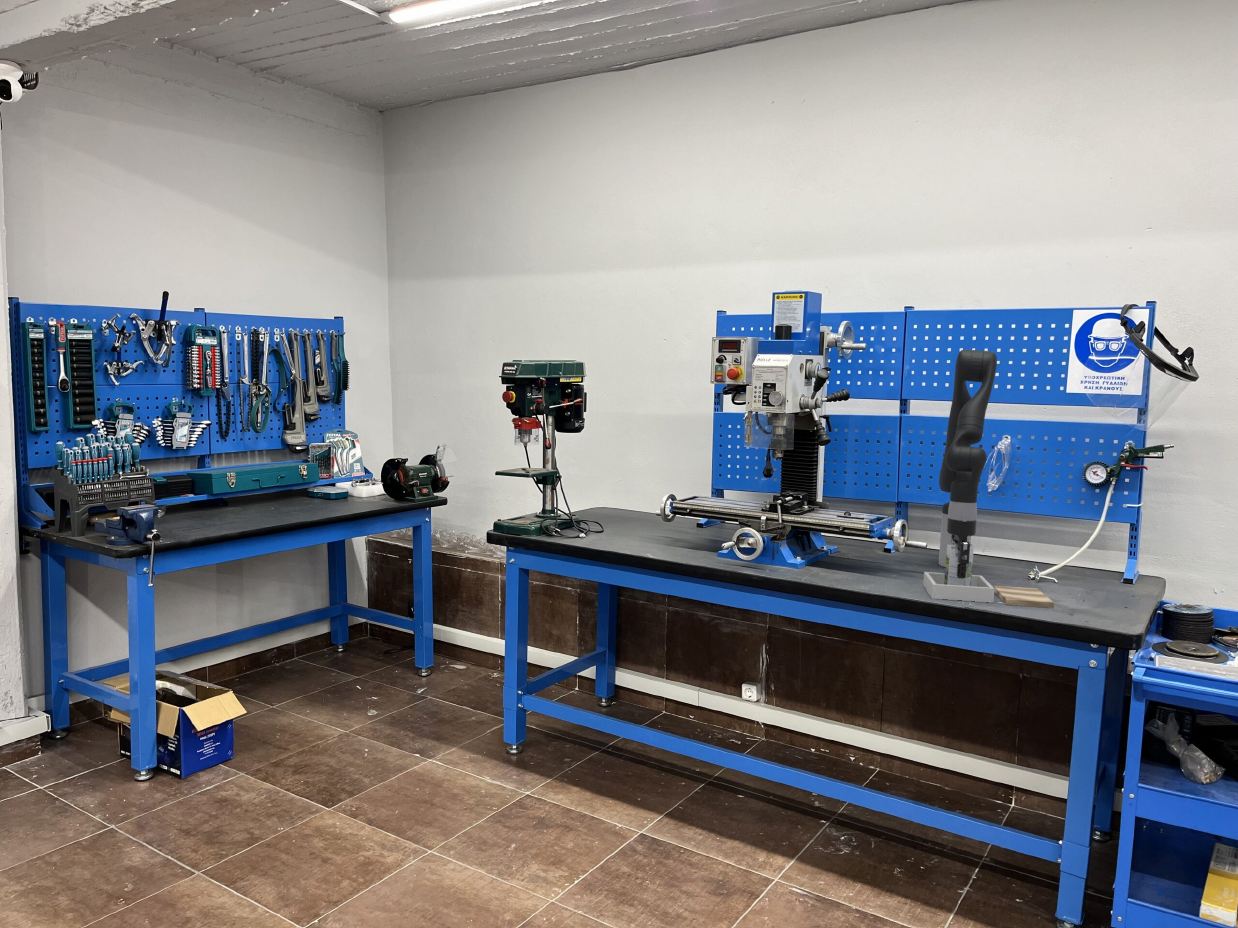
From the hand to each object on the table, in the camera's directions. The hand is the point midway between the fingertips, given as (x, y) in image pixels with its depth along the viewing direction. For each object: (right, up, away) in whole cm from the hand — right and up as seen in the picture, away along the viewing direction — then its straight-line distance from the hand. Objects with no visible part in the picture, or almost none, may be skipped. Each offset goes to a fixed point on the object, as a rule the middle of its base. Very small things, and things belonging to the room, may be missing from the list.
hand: (958, 574), depth 247 cm
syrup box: (0, -6, +1) cm, 6 cm away
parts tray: (0, -6, +1) cm, 6 cm away
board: (+16, -6, -4) cm, 18 cm away
